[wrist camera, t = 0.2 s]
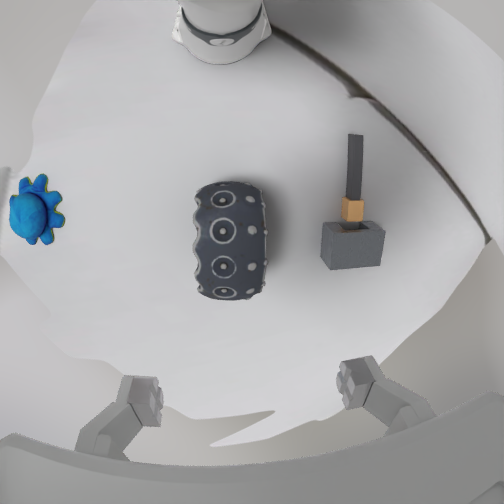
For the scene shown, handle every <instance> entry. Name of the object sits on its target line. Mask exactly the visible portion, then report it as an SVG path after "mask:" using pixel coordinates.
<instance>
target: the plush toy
mask: <svg viewBox="0 0 504 504" xmlns="http://www.w3.org/2000/svg"><path fill="white" fill-rule="evenodd" d="M47 183H48V178H47V176H46V175H44V174H40V175H38V176H37V177H36V179H35V181H34V183H33V184H31V181H30V179H29V178H28V177H25V178H23V179H21V180H20V182H19V195H18V196H17V195H12V196H11V198H10V218H9V221H10V226H11V228H12V230H13V231H14V232H15V233H16V234H17V235H19V236H20V237H22V238H25V239H26V241H27V242H28V243H29V244H31V245H34V244H36V242H37V239H38V237H40V239H41V240H42V242H43V243H44V244H45V245H48V244H50V243H52V242H53V240H54V237H53V232H52V228H61V227H62V226H63V225H64V222H65V218H64V216H63V214H61V213H59V212H56V211H55V208H56V206H57V205H58V204H59V203H60V202H61V201H62V198H61V196H60V194H59V193H58V192H57V191H50V192H47V191H46V187H47Z"/></svg>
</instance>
